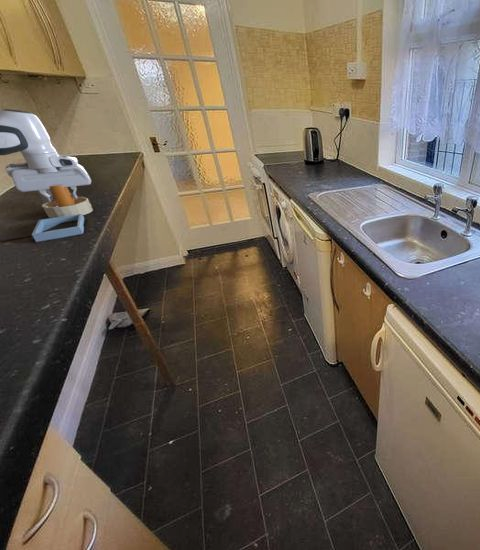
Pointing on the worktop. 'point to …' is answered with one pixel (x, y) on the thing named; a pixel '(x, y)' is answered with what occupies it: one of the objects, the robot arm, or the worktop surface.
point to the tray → (60, 233)
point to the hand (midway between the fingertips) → (64, 199)
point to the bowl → (68, 208)
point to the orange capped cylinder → (61, 195)
